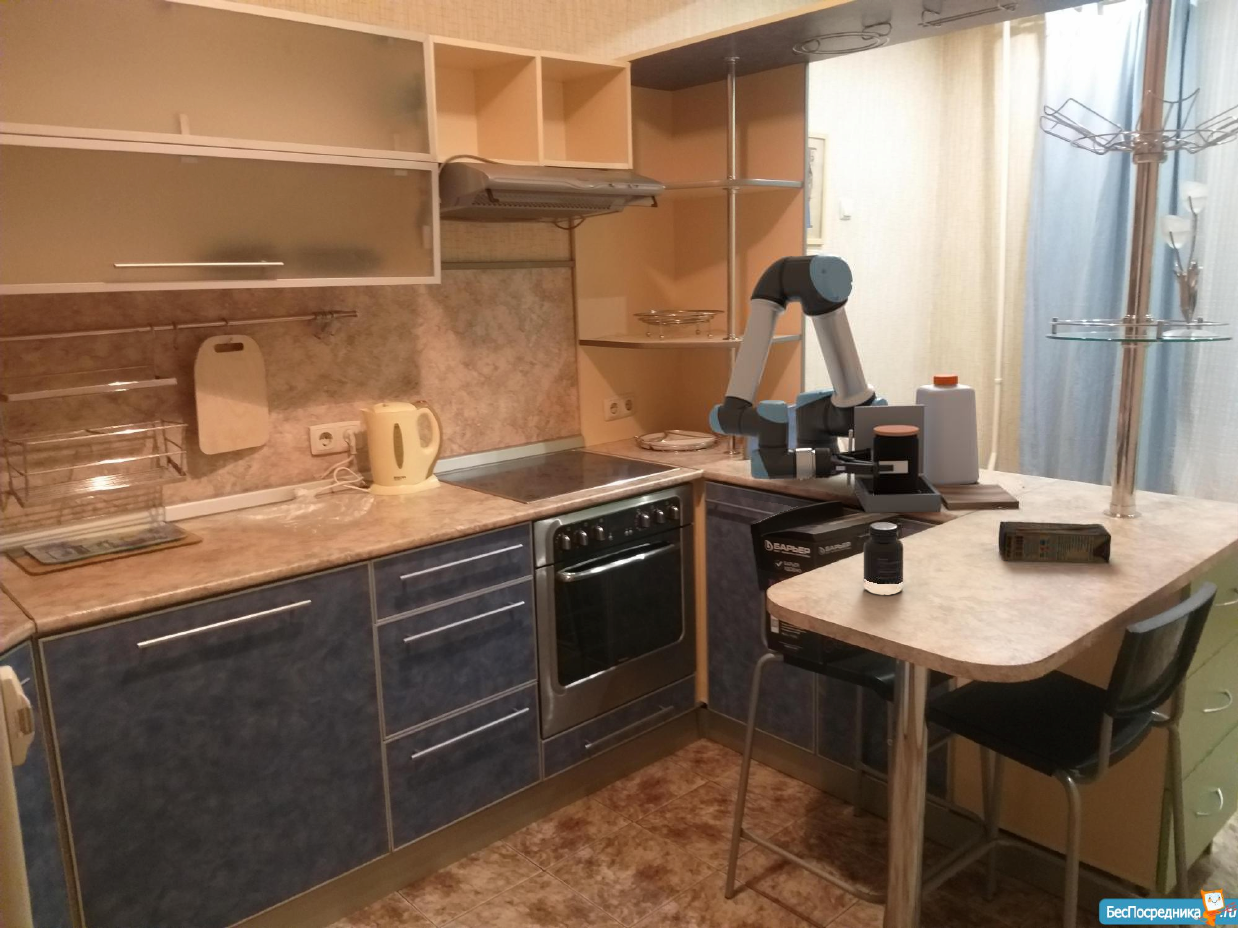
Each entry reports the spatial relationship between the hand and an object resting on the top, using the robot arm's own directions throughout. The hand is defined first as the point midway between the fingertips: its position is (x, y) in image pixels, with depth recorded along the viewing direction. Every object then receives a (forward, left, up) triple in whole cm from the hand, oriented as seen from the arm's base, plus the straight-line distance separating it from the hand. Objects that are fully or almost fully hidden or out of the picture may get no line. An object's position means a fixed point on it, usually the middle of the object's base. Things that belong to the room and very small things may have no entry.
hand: (902, 461), depth 227 cm
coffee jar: (0, -2, -10) cm, 10 cm away
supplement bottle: (+67, -3, -10) cm, 68 cm away
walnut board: (-3, +17, -10) cm, 20 cm away
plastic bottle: (-24, +10, -10) cm, 28 cm away
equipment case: (-3, -3, -10) cm, 11 cm away
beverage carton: (+42, +28, -11) cm, 52 cm away
